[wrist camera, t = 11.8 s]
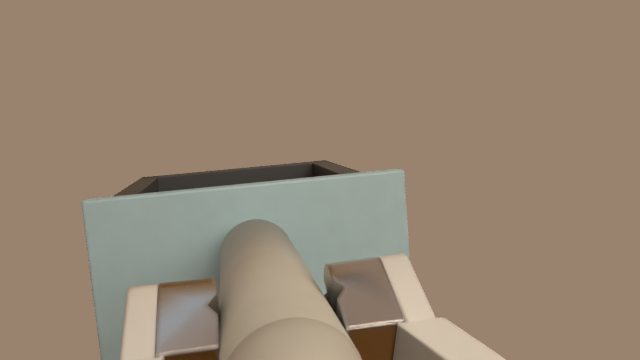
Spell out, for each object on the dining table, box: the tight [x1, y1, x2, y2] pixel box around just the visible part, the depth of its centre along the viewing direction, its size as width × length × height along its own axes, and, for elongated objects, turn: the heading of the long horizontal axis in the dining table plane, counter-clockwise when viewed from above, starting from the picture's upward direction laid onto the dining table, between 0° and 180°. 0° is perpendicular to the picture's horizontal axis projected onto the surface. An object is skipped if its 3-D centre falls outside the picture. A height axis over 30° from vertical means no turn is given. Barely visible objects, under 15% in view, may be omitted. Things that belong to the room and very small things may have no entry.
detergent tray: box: [82, 169, 410, 360], centre depth 17 cm, size 9×20×6 cm, turn 10°
